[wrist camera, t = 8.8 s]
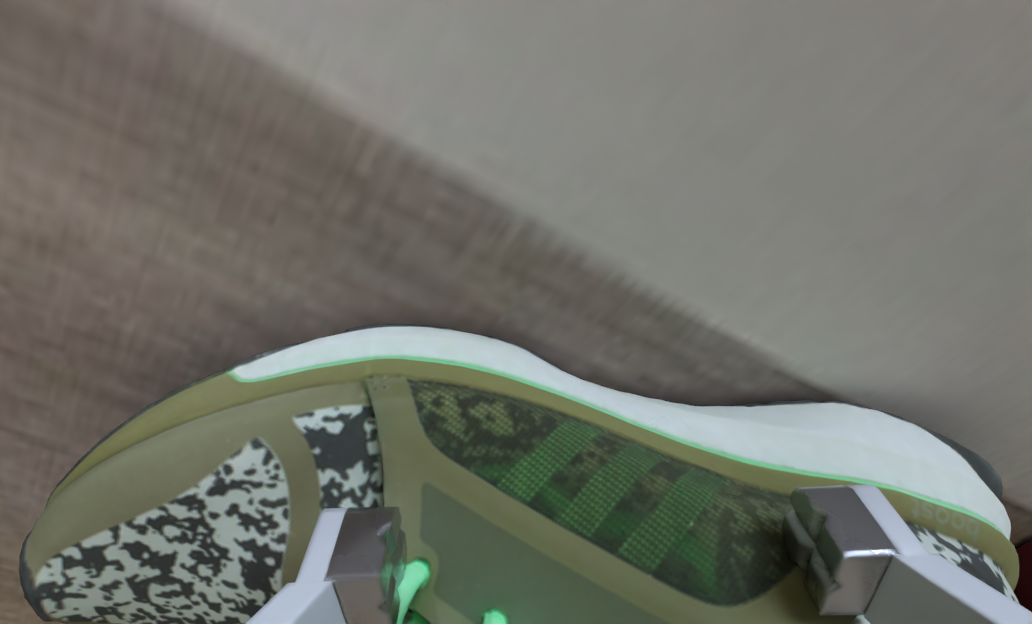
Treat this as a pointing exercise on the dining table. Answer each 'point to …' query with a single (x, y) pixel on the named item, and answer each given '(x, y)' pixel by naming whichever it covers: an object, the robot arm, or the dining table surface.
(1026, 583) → the mug
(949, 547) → the running shoe
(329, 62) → the dining table surface
